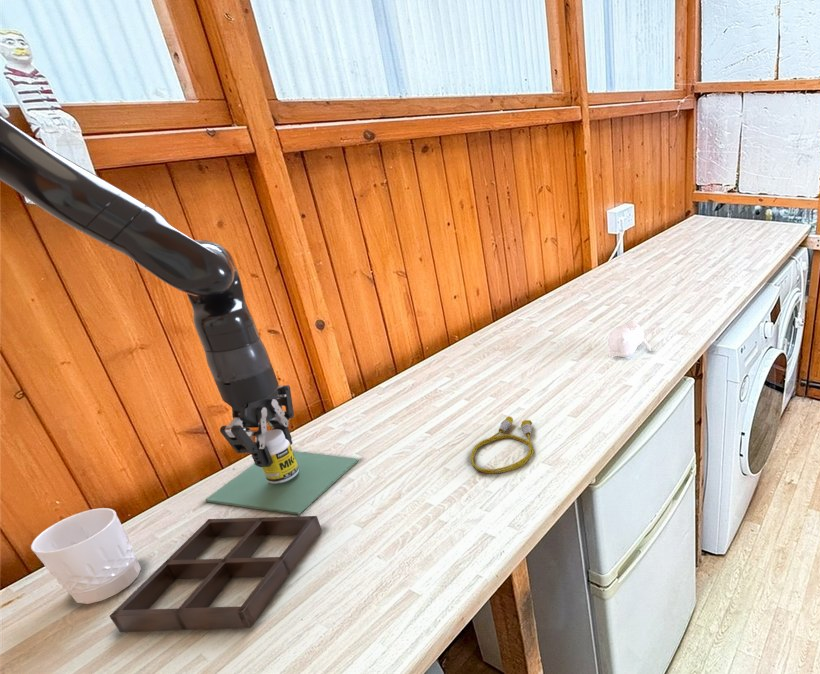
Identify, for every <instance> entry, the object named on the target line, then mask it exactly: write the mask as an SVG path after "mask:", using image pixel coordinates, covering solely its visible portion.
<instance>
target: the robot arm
mask: <svg viewBox="0 0 820 674" xmlns="http://www.w3.org/2000/svg"><path fill="white" fill-rule="evenodd" d="M0 181H1V182H3V183H4V184H5V185H7V186H9V187H11V188H12V189H13V190H15V191H16V192H17V193H19V194H20V195H21V196H23V197H24V198H26V199H28V200H29V201H30V202H31V203H33V204H35V205H36V206H37V207H39V208H40V209H42V210H43V211H45V212H46V213H48V214H49V215H51V216H52V217H54V218H56V219H57V220H59V221H61V222H62V223H64V224H66V225H68V226H70V227H71V228H72V229H75V230H76V231H79V232H80V233H82V234H85V235H86V236H87V237H90V238H92V239H93V240H96V242H97V241H98V242H99V243H101V244H102V245H105V246H107V247H109V248H111V249H113V250H115V251H117V252H120V253H122V254H123V255H125V256H126V257H128V258H129V259H131V260H132V261H133V262H134V263H136V264H138V265H139V266H140V267H142V268H143V269H145V270H146V271H147V272H149V273H150V274H152V275H153V276H154V277H156V278H157V279H159V280H161V281H163V282H164V283H165V284H167V285H169V286H171V287H172V288H174V289H176V290H178V291H181V292H182V293H185V294H186V295H187V297H188V300H189V302H190V305H191V307H192V313H193V316H192V320H193V324H194V329H195V331H196V333H197V336H198V339H199V341H200V343H201V346H202V349H203V351H204V354H205V360H206V364H207V366H208V368H209V371H210V374H211V375H212V379H213V381H214V383H215V385H216V388H217V391H218V393H219V395H220V397H221V399H222V401H223V402H224V403H225V404H227V405H228V406H230V408H231V410H232V413H231V414H232V415H231V416H232V420H231V421H230V422H229V423H228V425H221V426H220V429H219V432H220V434H221V435H222V436H223V437H224V438H225V440H226V441H227V443H228V444H229V445H230V446H231V448H232V449H233V450H234V451H235V452H236V454H250V455H251V457H252V459H253V463H254V464H255V465H256V466H259V467H270V466H271V465H272V464H273V461H272V458H271V456H270V453H269V451H268V448H267V446H265V434H266V433H267V431H268V427H267V426H268V425H269V427H270V428H272V429H271V430H274V429H279V430H282V431H283V433H284V435H285V439H287V440H288V441H289V442H290V445H291V446H292V445H293V440H292V439H293V438H292V435H291V432H290V429H289V424H290V421H289V420H290V419H293V418H294V416H295V411H294V405H293V397H292V391H291V387H290V385H289V384H288V385H285V384H284V385H279V381H278V378H277V376H276V373H275V370H274V367H273V364H272V362H271V359H270V355H269V352H268V351H267V347H266V346H265V344H264V343H263V341H262V338H261V336H260V333H259V330H258V328H257V326H256V323H255V320H254V318H253V315H252V313H251V311H250V309H249V307H248V304H247V302H246V298H245V293H244V289H243V285H242V282H241V277H240V274H239V271H238V268H237V267H238V266H237V265H236V262H235V259H234V257H233V255H232V254H231V252H229V251H228V250H227V249H226V248H225V246H222V245H221V244H219V243H216V242H214V241H211V240H203V239H200V240H199V239H198V240H197V239H196V240H195V239H193V238H192V237H189V235H186V234H185V233H183V232H181V231H180V230H178V229H176V228H175V227H173V226H172V225H171V224H170V223H169V222H168V220H167V219H166V217H165V216H164V215H162V214H161V213H159V212H158V211H157V210H155V209H154V208H152V207H151V206H149V205H147V204H146V203H143V202H142V201H141V200H139V199H138V198H135V197H134V196H132V195H131V194H129V193H127V192H125V191H123V190H122V189H121V188H119V187H117V186H115V185H114V184H112V183H110V182H108V181H106V180H105V179H103V178H102V177H99V176H98V175H96V174H94V173H93V172H91V171H89V170H88V169H86V168H84V167H82V166H81V165H79V164H77V163H75V162H73V161H72V160H70V159H69V158H67V157H65V156H63V155H61V154H60V153H58V152H57V151H54V150H53V149H51V148H49V147H48V146H47V145H45V144H43V143H41V142H40V141H39V140H37V139H35V138H33V136H30V135H29V134H28V133H25V132H24V131H23V130H22V129H20V128H18V127H17V126H15V125H14V124H12V123H11V122H10V121H8V120H6V119H5V118H4V117H2V116H1V115H0ZM283 406H284V408H285V411H284V410H283ZM252 428H253V429H252ZM254 428H256V429H254ZM254 437H255V438H256V440H257V442H255V441H254Z"/></svg>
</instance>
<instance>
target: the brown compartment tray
mask: <svg viewBox="0 0 820 674" xmlns="http://www.w3.org/2000/svg"><path fill="white" fill-rule="evenodd" d="M322 531H323V529H322V526H321V524H320V521H319V518H318V515H301V516H300V515H299V516H298V515H296V516H295V515H294V516H265V517H231V518H229V517H228V518H208V519H206V521H205V522H204V523H203V524H202V525H201V526H200V527H199V528H198V529H196V531H195V532H193V534H192V535H191V536H189V538H188V539H187V540H186V541H185V542H184V543H182V544H181V546H180V547H178V548H177V549H176V550H175V551H174V552H173V553H172V554H171V555H170V556H169V557H168V558H167V559H166V560H165V561H164V562H163V563H162V564H161V565H160V566H159V567H158V568H157V569H156V570H155V571H154V572H153V573H151V575H150V576H149V577H148V578H147V579H146V580H144V581H143V582H142V583H141V585H139V587H137V589H135V590H134V591H133V592H132V593H131V594H130V595H129V596H128V597H127V598H126V599H125V600H124V601H123V602H122V603H121V604H120V605H119V606H118V607H117V608H116V609H115V610H113V612H112V613H111V614H109V618H110V619H111V621H112V623H113V624H114V626H115V627H116V629H117V630H118V632H119V633H133V632H162V631H163V632H164V631H166V632H167V631H168V632H169V631H194V630H197V631H198V630H225V629H226V630H229V629H251V628H252V627H253V626H254V624H255V623H256V621H257V620H258V619H259V617H260V616H261V614H262V613H263V612H264V611H265V609H266V608H267V607H268V605H269V604H270V602H271V601H272V600H273V598H274V597H275V595H276V594H277V593H278V592H279V590H280V589H281V587H282V586H283V585H284V583H285V582H286V581H287V579H288V578H289V576H290V575H291V573H292V572H293V571H294V570H295V568H296V567H297V565H299V564H300V561H301V560H302V558H304V556H305V555H306V554H307V552H308V551H309V549H310V548H311V546H312V545H313V544H314V542H315V541H316V539H317V538H318V537H319V535H320V534H321V533H322ZM269 536H270V537H273V536H294V538H292V541H291V542H290V543H289V544H288V545H287V547H285V549H284V551H283V552H282V554H280V556H261V557H259V556H258V557H252V556H253V554H254V553H255V552H256V551H257V549H258V548H259V547H260V546H261V545H262V544H263V543H264V541H265V540H266V539H267V538H268V537H269ZM236 537H241V538H240V539H239V540H238V541H237V542H236V543H235V545H234V546H233V547H232V548H231V549H230V551H229V552H228V553H227V554H226V555H225V556H224V557H223V558H198V557H200V555H202V553H203V552H204V551H206V550H207V548H208V547H209V546H210V545H211V544H212V543H213V542H214V541H215V540H216V539H217V538H236ZM249 578H252V579H253V578H261V580H260V581H259V583H258V584H257V585H256V586H255V588H254V589H253V590H252V591H251V593H250V594H249V595H248V596H247V598H246V599H245V600H244V602H243V603H242V604H241V606H211V607H210V605H211V604H212V603H213V601H214V600H215V599H216V598H217V596H219V594H220V593H221V592H222V591H224V590H223V589H224V588H226V586H227V585H228V584H229V583H230V582H231V581H232V579H249ZM181 580H184V581H185V580H202V581H201V583H199V585H198V586H197V587H196V588H195V589H194V590H193V591H192V593H191V594H190V595H189V596H188V597H187V598H186V599H185V600H184V601H183V602H182V603H181V604H180V606H179V607H178V608H174V607H173V608H150V607H152V605H153V604H154V603H155V602H156V601H157V600H158V599H159V598H160V597H161V596H162V595H163V594H165V592H166V591H167V589H169V588H170V587H171V586H172V584H174V583H175V581H181Z"/></svg>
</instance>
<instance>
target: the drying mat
mask: <svg viewBox="0 0 820 674" xmlns="http://www.w3.org/2000/svg"><path fill="white" fill-rule="evenodd" d="M292 451H293V454H294V456H295V459H296V462H297V465H298V468H299V471H298V473H297V475H296V476H295V477H293V478H292V479H290V480H288V481H286V482H283V483H277V484H273V483H269V482H268V481H267V479H266V476H265V473H264V471H263V468H262V467H259V466H256V465H255V463H253V464H252V465H250V466H249V467H248V468H247V469H245V470H244V471H242V472H241V473H240V474H239V475H237V476H235V477H234V478H233V479H231V480H230V481H229V482H227V483H226V484H225V485H223V486H222V487H221V488H219V489H217V490H216V491H215V492H214V493H212V494H211V495H209V496H208V497H207V498H205V502H206V503H213V504H220V505H227V506H234V507H240V508H241V507H242V508H247V509H254V510H261V511H262V510H263V511H268V512H276V513H282V514H290V515H296V516H298V515H299V516H300V515H301V514H302V513H303V511H305V510H306V509H307V508H308V507H309V506H310V505H311V504H313V503H314V502H315V501H316V500H317V499H318V498H319V497H320V496H321V495H323V493H325V492H326V491H327V490H328V489H330V487H332V486H333V484H335V483H336V482H337V481H338V480H339V479H340V478H341V477H342V476H343V475H344V474H346V473H347V472H348V471H349V470H350V469H351V468H353V466H355V465H356V463H358V462H359V459H358V458H353V457H346V456H345V457H344V456H337V455H336V456H335V455H328V454H319V453H311V452H301V451H294V450H292Z"/></svg>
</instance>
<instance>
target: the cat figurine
mask: <svg viewBox="0 0 820 674" xmlns="http://www.w3.org/2000/svg"><path fill="white" fill-rule="evenodd" d="M642 343H644V345H645V347H646V348H647V350H648V351H649V352H651V351H652V347H651V345H650V344H649V343H648V341H647V340H646V339H645V332H644V329H643V327H642V326H641V325H640V324H638V323H636V322H634V321H633V320H629V322H627V323H625V324H623V325H622V326H618V327H615V328H614V329H612V330H611V331H610V333H609V334H608V336H607V346H608V349H609V352H608V358H614V357H620V358H626V357H627V358H628V357H630V356H632V355H633V354H634V353H635V352H636V350H637V349H638V347H639V346H640V345H641V344H642Z"/></svg>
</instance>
